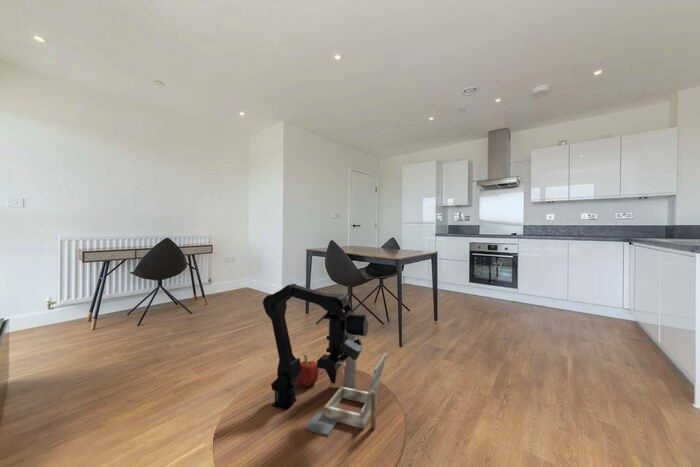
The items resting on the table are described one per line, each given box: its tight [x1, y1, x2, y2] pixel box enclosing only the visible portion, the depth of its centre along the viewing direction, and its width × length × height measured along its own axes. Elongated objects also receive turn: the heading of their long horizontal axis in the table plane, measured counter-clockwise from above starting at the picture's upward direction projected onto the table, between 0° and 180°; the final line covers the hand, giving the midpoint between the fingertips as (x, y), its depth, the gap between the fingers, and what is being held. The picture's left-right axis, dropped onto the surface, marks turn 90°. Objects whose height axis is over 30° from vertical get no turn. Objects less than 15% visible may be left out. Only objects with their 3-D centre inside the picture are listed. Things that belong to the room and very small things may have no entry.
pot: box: [328, 359, 346, 389], centre depth 89 cm, size 6×6×7 cm
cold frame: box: [323, 352, 388, 430], centre depth 91 cm, size 18×14×19 cm
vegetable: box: [295, 354, 320, 387], centre depth 110 cm, size 11×10×10 cm
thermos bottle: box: [342, 333, 357, 389], centre depth 109 cm, size 8×8×28 cm
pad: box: [304, 412, 339, 437], centre depth 84 cm, size 8×8×1 cm
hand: (336, 379), depth 89 cm, fingers closed on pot, 5 cm apart
